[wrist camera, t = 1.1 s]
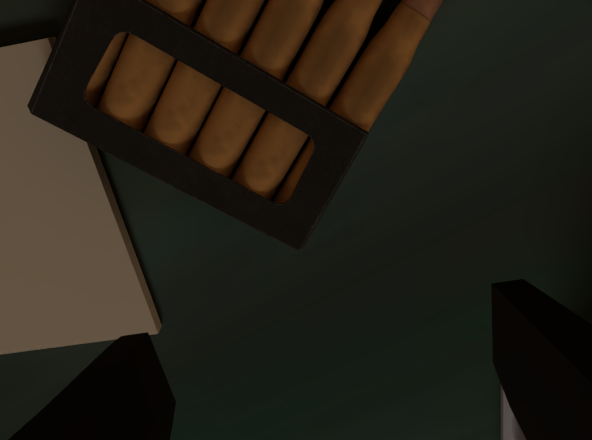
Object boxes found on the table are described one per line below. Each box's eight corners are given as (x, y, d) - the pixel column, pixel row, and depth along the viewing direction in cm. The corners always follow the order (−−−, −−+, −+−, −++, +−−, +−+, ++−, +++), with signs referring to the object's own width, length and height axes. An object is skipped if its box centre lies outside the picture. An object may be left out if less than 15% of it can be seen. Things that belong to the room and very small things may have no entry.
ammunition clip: (23, 110, 16) (178, -302, 13) (48, 100, 18) (190, -265, 14) (301, 251, 19) (503, -59, 15) (299, 231, 20) (480, -52, 17)
